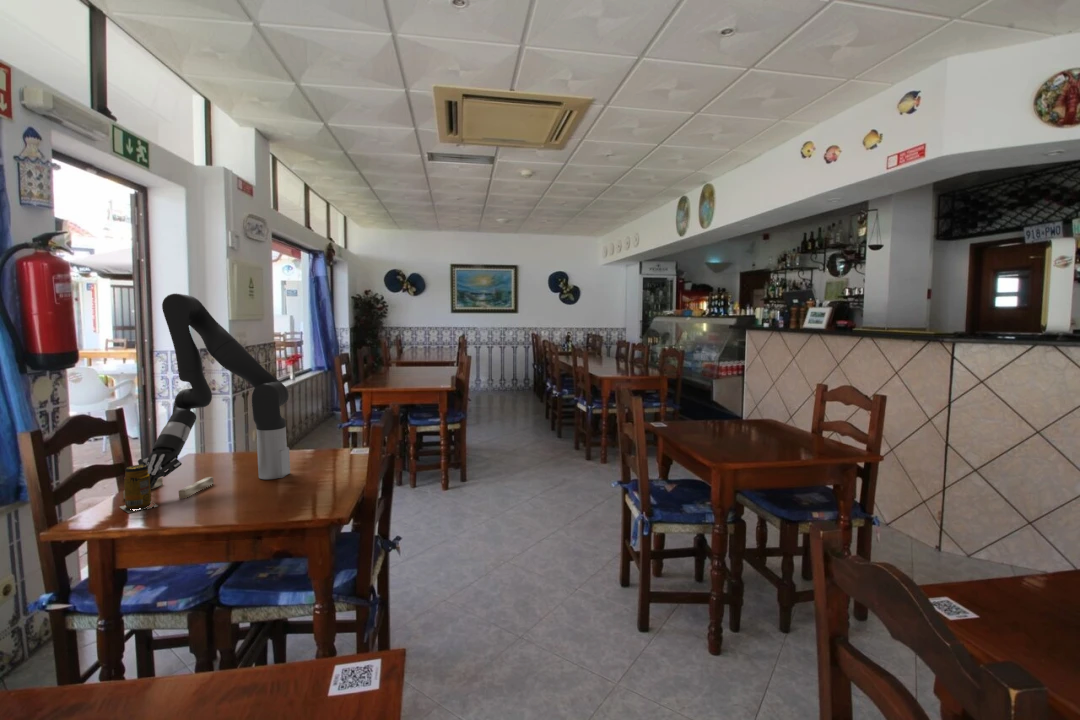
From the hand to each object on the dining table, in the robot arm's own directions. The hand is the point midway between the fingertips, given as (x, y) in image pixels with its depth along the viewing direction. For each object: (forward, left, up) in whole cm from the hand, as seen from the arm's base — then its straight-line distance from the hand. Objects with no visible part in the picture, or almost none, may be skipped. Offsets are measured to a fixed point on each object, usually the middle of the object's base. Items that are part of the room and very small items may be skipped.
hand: (146, 488), depth 156 cm
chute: (0, -10, -4) cm, 11 cm away
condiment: (-1, +4, -4) cm, 6 cm away
